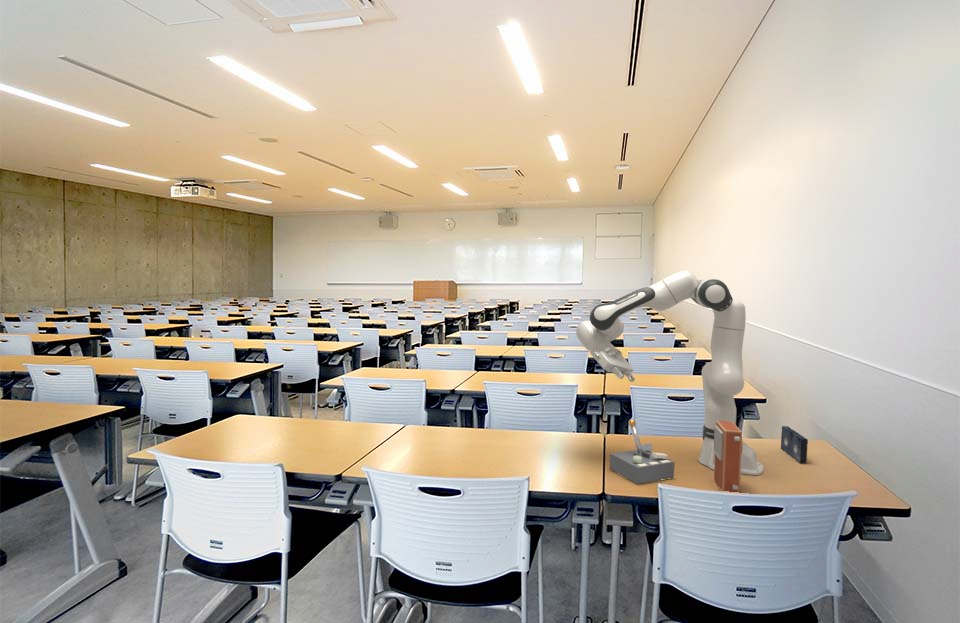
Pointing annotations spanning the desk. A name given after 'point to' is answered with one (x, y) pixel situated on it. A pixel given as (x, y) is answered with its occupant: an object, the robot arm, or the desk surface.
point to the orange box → (727, 455)
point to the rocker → (660, 455)
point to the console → (641, 466)
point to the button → (637, 459)
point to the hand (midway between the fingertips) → (627, 379)
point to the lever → (635, 436)
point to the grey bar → (646, 447)
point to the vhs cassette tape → (794, 444)
